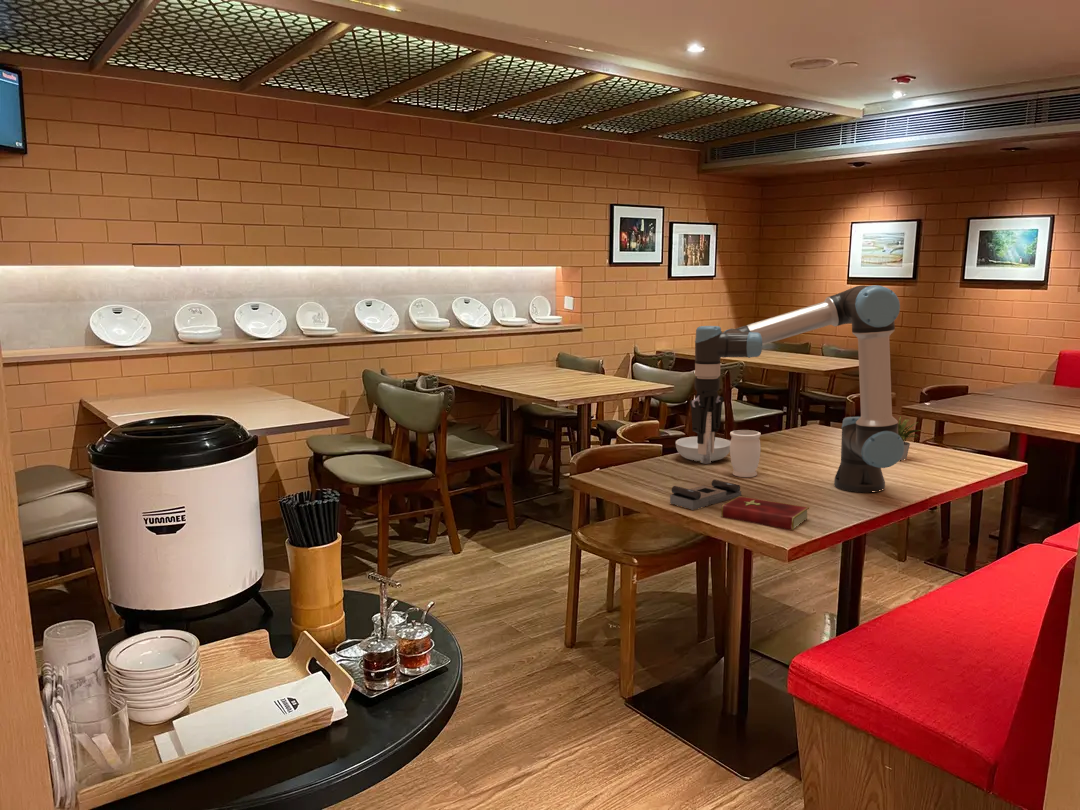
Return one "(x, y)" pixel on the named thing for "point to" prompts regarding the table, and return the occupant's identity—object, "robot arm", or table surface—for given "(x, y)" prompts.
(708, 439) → the link pin
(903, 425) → the house plant
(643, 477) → the table surface
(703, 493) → the plate with two rollers
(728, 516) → the hardcover book
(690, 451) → the serving bowl
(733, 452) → the jar
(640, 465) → the table surface
